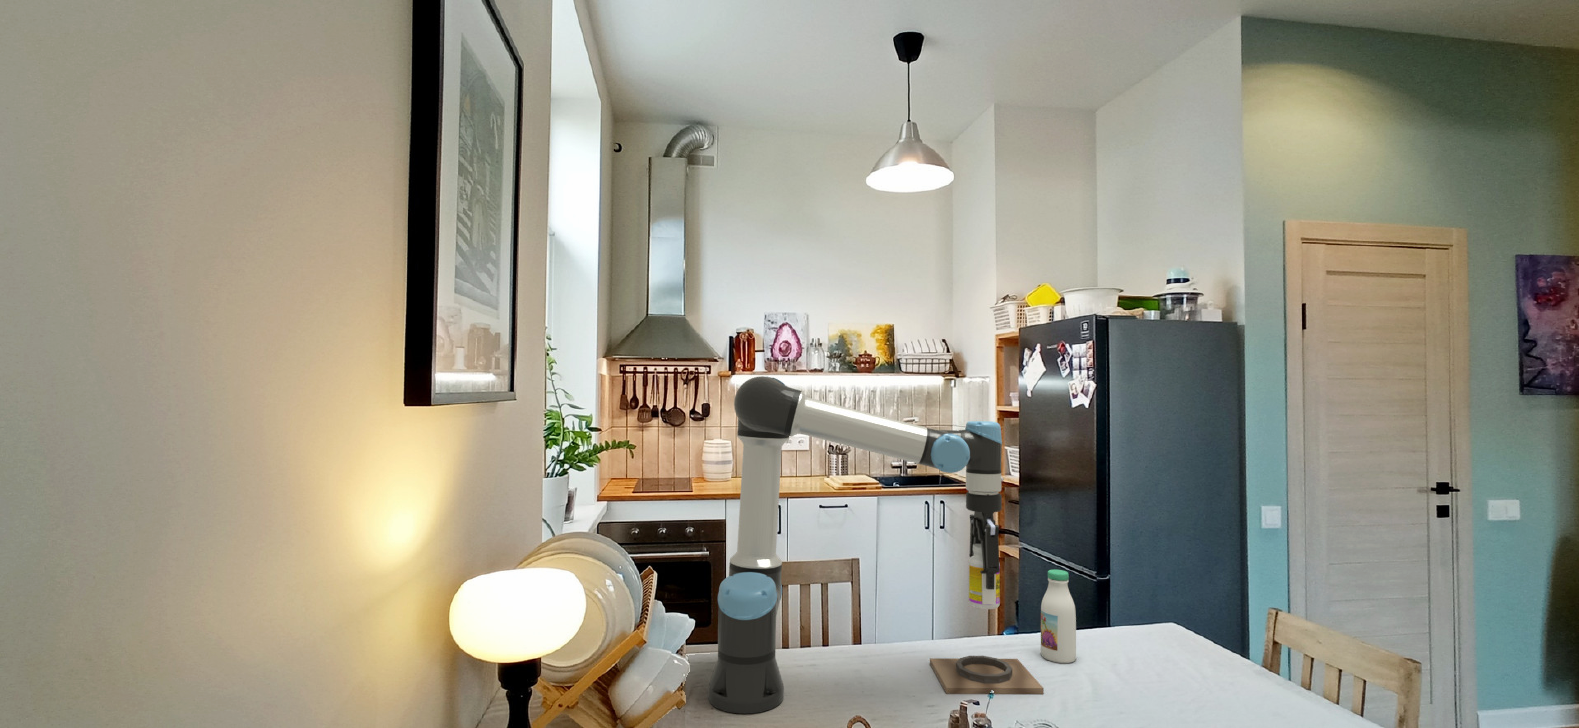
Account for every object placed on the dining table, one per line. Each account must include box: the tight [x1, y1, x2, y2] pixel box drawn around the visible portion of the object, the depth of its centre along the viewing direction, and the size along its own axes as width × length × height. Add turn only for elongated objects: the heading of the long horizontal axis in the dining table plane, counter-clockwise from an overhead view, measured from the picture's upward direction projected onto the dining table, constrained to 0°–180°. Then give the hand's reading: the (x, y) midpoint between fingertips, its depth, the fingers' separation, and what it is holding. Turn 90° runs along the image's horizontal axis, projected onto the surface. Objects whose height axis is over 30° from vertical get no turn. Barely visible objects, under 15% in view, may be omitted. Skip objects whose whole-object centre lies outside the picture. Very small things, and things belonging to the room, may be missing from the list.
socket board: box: [929, 655, 1045, 695], centre depth 155 cm, size 20×16×3 cm
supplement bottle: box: [967, 544, 1001, 610], centre depth 155 cm, size 7×7×13 cm
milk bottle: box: [1040, 569, 1077, 664], centre depth 168 cm, size 8×8×20 cm
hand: (983, 598), depth 155 cm, fingers closed on supplement bottle, 7 cm apart
